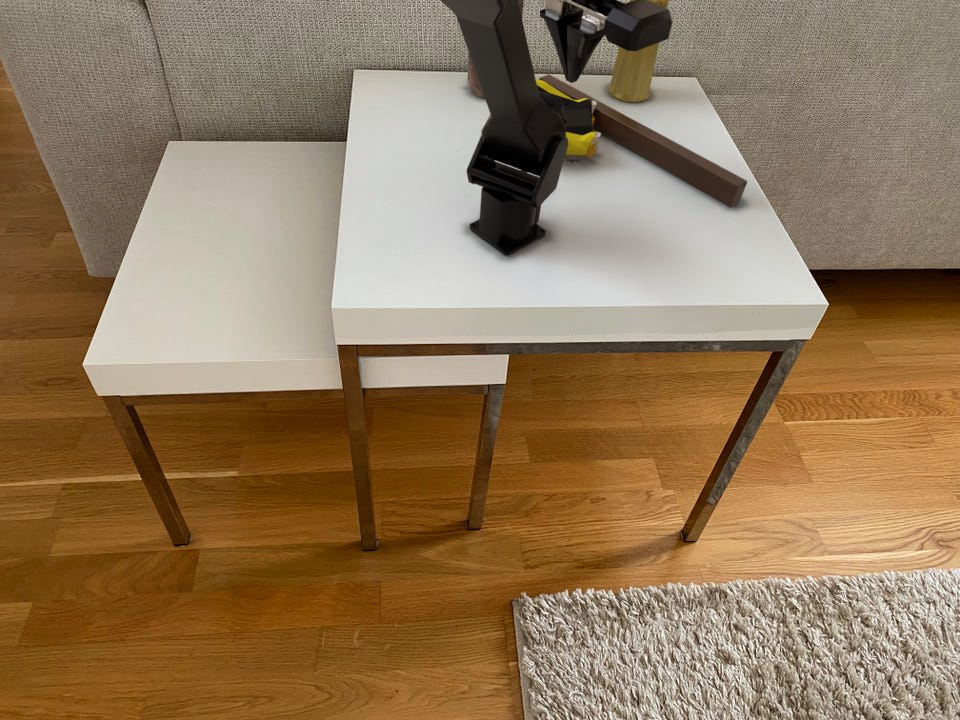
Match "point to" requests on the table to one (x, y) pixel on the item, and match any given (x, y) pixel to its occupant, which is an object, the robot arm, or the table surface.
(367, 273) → the table surface
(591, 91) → the table surface
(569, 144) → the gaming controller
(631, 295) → the table surface
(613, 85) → the vase
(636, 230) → the table surface
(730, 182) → the back rail
